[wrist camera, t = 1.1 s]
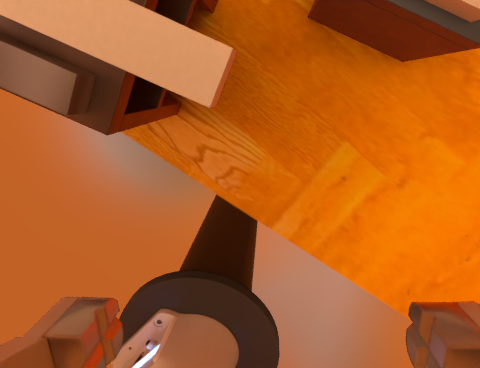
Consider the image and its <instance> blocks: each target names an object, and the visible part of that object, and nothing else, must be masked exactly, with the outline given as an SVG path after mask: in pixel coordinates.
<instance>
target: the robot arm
mask: <svg viewBox="0 0 480 368" xmlns="http://www.w3.org/2000/svg"><path fill="white" fill-rule="evenodd" d="M118 312H119V306H118V301H117V300H116V299H114V298H96V297H95V298H94V297H64V298H61V299H60V300H59V301H58V302H57V303H56V304H55V305H54V306H53V307H52V308H51V309H50V310H49V311H48V312H47V313H46V314H45V315H44V316H43V317H42V318H41V319H40V320H39V321H38V322H37V323H36V324H35V325H34V326H33V327H32V328H31V329H30V330H29V331H28V332H27V333H26V334H25V335H24V336H23V337H16V338H14V339H12V340H10V341H8V342H6V343H4V344H2V345H0V368H106V365H108V364H109V363H111V362H112V365H113V368H235V367H236V364H237V362H238V358H239V348H238V344H237V342H236V339H235V338H234V336H233V334H232V333H231V332H230V331H229V330H228V329H227V328H226V327H225V326H224V325H223V324H221V323H220V322H218V321H216V320H214V319H212V318H210V317H207V316H203V315H199V314H182V313H178V312H175V311H173V310H170V309H165V308H163V309H160V310H159V311H158V312H157V313H155V314H154V315H153V316H152V317H151V318H150V319H149V320H148V321H147V322H146V323H145V324H144V325H143V326H142V327H141V328H140V329H139V330H138V331H137V332H136V333H135V334H134V335H133V336H132V337H131V338H130V339H129V340H128V341H127V342H126V343H124V344H123V345H122V342H123V325H122V323H121V322H120V320H119V319H118V318H116V315H117V314H118ZM408 315H409V317H410V319H411V320H412V322H413V323H412V324H411V325H410V326H409V327H408V328H407V331H406V345H407V352H408V355H409V357H410V360H411V362H412V364H413V366H414V368H480V304H478V303H476V302H474V301H469V302H412V303H411V305H410V307H409V314H408ZM159 320H161V321H159Z"/></svg>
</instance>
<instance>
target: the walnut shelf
mask: <svg viewBox="0 0 480 368" xmlns="http://www.w3.org/2000/svg"><path fill="white" fill-rule="evenodd" d="M129 1H131V2H134V3H136V4H138V5H140V6H142V7H145V8H147V9H149V10H151V11H153V12H155V13H158V14H160V15H162V16H164V17H166V18H169V19H171V20H173V21H175V22H177V23H180V24H182V25H184V26H186V27H188V24H189V21H190V18H191V15H192V12H193V9H194V6H195V5H196V6H198V7H200V8H203V9H205V10H207V11H209V12H211V13H213V12H214V9H215V6H216V3H217V1H218V0H129ZM0 89H3V90H5V91H7V92H10V93H12V94H14V95H16V96H19V97H21V98H23V99H25V100H28V101H30V102H32V103H35V104H37V105H39V106H41V107H44V108H46V109H48V110H51V111H53V112H55V113H57V114H60V115H62V116H65V117H67V118H69V119H71V120H73V121H76V122H78V123H80V124H83V125H85V126H87V127H89V128H92V129H94V130H96V131H99V132H101V133H103V134H105V135H110V134H114V133H117V132H121V131H124V130H127V129H130V128H134V127H137V126H140V125H144V124H147V123H150V122H153V121H157V120H160V119H163V118H166V117H170V116H173V115H176V114H177V113H178V111H179V108H180V105H181V103H179V102H177V101H175V100H172V99H170V98H168V97H166V96H165V93H166V90H167V89H165V88H163V87H161V86H159V85H156V84H154V83H152V82H150V81H147V80H145V79H143V78H141V77H138V76H136V75H134V74H132V73H129V72H127V71H125V70H123V69H121V68H118V67H116V66H114V65H112V64H109V63H107V62H105V61H103V60H100V59H98V58H96V57H94V56H91V55H89V54H87V53H85V52H83V51H80V50H78V49H76V48H74V47H71V46H69V45H67V44H65V43H62V42H60V41H58V40H56V39H53V38H51V37H49V36H47V35H45V34H42V33H40V32H38V31H36V30H33V29H31V28H29V27H27V26H24V25H22V24H20V23H18V22H15V21H13V20H11V19H9V18H7V17H4V16H2V15H0Z"/></svg>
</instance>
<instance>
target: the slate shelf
mask: <svg viewBox="0 0 480 368" xmlns="http://www.w3.org/2000/svg"><path fill="white" fill-rule="evenodd" d="M308 18H310V19H312V20H314V21H316V22H319V23H321V24H323V25H325V26H327V27H329V28H331V29H334V30H336V31H338V32H340V33H342V34H344V35H346V36H349V37H351V38H353V39H355V40H357V41H359V42H362V43H364V44H366V45H368V46H370V47H372V48H374V49H377V50H379V51H381V52H383V53H385V54H387V55H389V56H392V57H394V58H396V59H398V60H400V61H402V62H405V61H410V60H416V59H421V58H427V57H432V56H438V55H443V54H449V53H454V52H460V51H465V50H470V49H476V48H480V0H315V2H314V4H313V6H312V9H311V11H310V13H309V15H308Z"/></svg>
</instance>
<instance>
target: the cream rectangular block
mask: <svg viewBox="0 0 480 368" xmlns="http://www.w3.org/2000/svg"><path fill="white" fill-rule="evenodd" d="M0 15H2V16H4V17H7V18H9V19H11V20H13V21H15V22H18V23H20V24H22V25H24V26H27V27H29V28H31V29H33V30H36V31H38V32H40V33H42V34H45V35H47V36H49V37H51V38H53V39H56V40H58V41H60V42H62V43H65V44H67V45H69V46H71V47H74V48H76V49H78V50H80V51H83V52H85V53H87V54H89V55H91V56H94V57H96V58H98V59H100V60H103V61H105V62H107V63H109V64H112V65H114V66H116V67H118V68H121V69H123V70H125V71H127V72H129V73H132V74H134V75H136V76H138V77H141V78H143V79H145V80H147V81H150V82H152V83H154V84H156V85H159V86H161V87H163V88H165V89H167V90H170V91H172V92H174V93H176V94H179V95H181V96H183V97H185V98H188V99H190V100H192V101H194V102H197V103H199V104H201V105H203V106H205V107H208V108H211V107H214V106H216V104H217V102H218V99H219V97H220V94H221V92H222V89H223V87H224V84H225V82H226V79H227V76H228V74H229V71H230V69H231V66H232V64H233V61H234V59H235V56H236V54H237V52H236V51H235V50H234V49H233V48H232V47H230V46H228V45H225V44H223V43H221V42H219V41H217V40H215V39H212V38H210V37H208V36H206V35H204V34H201V33H199V32H197V31H195V30H193V29H190V28H188V27H186V26H184V25H182V24H180V23H177V22H175V21H173V20H171V19H169V18H166V17H164V16H162V15H160V14H158V13H155V12H153V11H151V10H149V9H147V8H145V7H142V6H140V5H138V4H136V3H134V2H131V1H129V0H0Z"/></svg>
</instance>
